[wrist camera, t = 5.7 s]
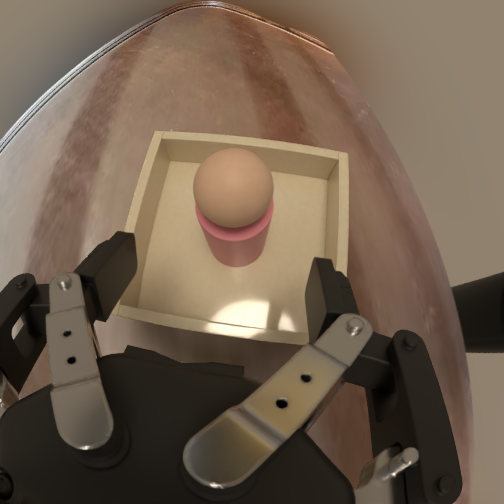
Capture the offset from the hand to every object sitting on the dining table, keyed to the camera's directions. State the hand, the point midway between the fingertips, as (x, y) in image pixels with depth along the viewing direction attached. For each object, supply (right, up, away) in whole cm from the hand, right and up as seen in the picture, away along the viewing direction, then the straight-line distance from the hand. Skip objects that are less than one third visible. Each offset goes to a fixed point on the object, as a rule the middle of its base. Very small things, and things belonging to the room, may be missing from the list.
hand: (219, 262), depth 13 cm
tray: (0, +1, +11) cm, 11 cm away
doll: (0, +1, +10) cm, 10 cm away
